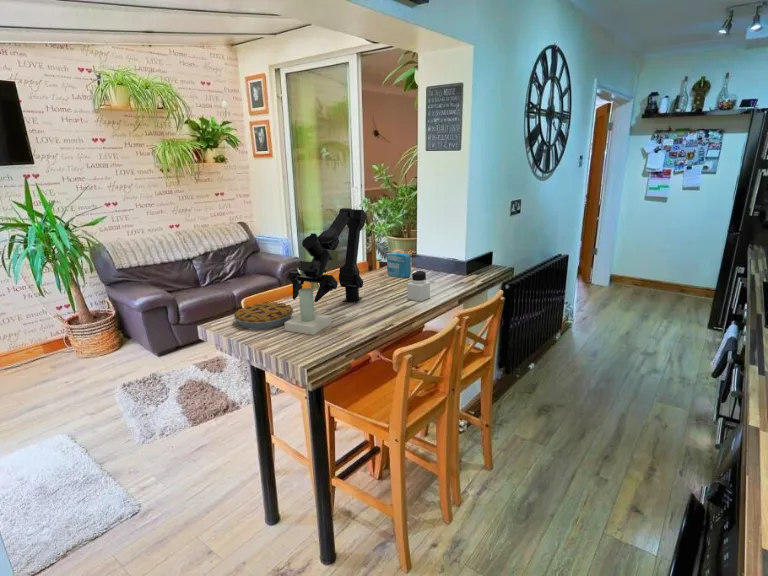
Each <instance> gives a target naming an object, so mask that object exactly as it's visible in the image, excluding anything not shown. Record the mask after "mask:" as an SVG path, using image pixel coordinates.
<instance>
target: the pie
mask: <svg viewBox="0 0 768 576" xmlns="http://www.w3.org/2000/svg"><path fill="white" fill-rule="evenodd" d="M294 312H295V311H294V308H293V307H292V306H291V305H290V304H286V303H284V302H281V303H279V302H276V301H275V302H269V301H267V302H265V301H264V302H262V303H253V304H252V305H245V306H244V307H243V308H240V309H237V310H236V312H235V313H234V315H233V317H234V320H236V321H237V323H238V324H239V326H241V325H242V326H241V327H243V328H245V327H246V329H250V328H251V330H265V329H271V328H274V327H279V326H281V325H283V324H284V325H285V322H287V321H288V320H290V319H292V316H293V313H294Z"/></svg>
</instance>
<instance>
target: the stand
mask: <svg viewBox="0 0 768 576" xmlns="http://www.w3.org/2000/svg"><path fill="white" fill-rule="evenodd" d="M331 324H332V316H331V315H327V314H326V315H325V314H319V313H315V319H314V320H313V321H307V322H306V321H302V320H301V313H300V314H298V315H296V316H294V317H291V318H290V320H288V321H287V322H285V323H284V330H285V331H287V332H292V333H294V332H295V333H298V334H299V333H300V334H306V335H312V336H313V335H315V334H317V333H319V332H321V330H324V329H325V328H326V327H328V326H329V325H331Z"/></svg>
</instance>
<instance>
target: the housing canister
mask: <svg viewBox="0 0 768 576" xmlns="http://www.w3.org/2000/svg"><path fill="white" fill-rule="evenodd" d="M298 297H299V298H298V300H299V310H300V314H301V320H302V321H306V322H307V321H313V320H314V319H315V314H316V313H315V304H314V303H315V301H314V300H315V298H314V289H313V288H309V287H307V288H305V287H304V288H302V289H300V290H299V294H298Z"/></svg>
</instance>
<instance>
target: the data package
mask: <svg viewBox="0 0 768 576" xmlns="http://www.w3.org/2000/svg"><path fill="white" fill-rule="evenodd" d="M411 262H412V261H411V254H409V253H404V252H397V251H396V252H395V251H392V252H389V253H387V255H386V272H387V275H388V276H390V277H393V278H399V279H400V278H401V279H407V278H409V277H410V276H412V271H411V270H412V269H411V268H412V266H411V265H412V264H411Z"/></svg>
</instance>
